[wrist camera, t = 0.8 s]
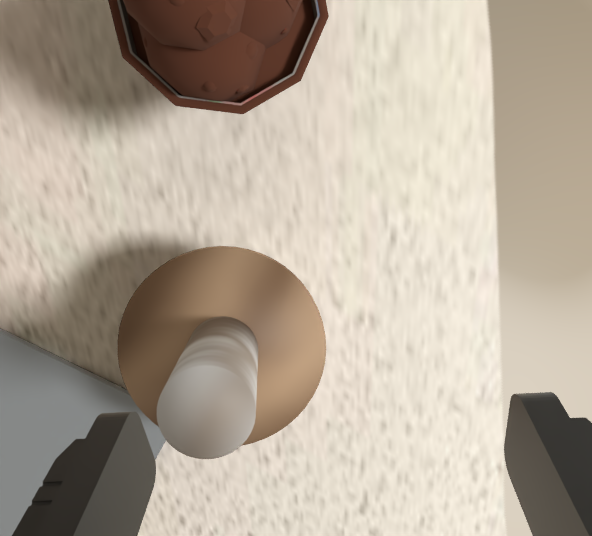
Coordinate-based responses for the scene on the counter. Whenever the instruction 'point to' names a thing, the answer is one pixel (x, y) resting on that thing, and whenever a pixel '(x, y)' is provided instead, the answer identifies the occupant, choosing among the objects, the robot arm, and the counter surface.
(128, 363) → the lid
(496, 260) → the counter surface
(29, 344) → the mat
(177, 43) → the ice cream bowl
